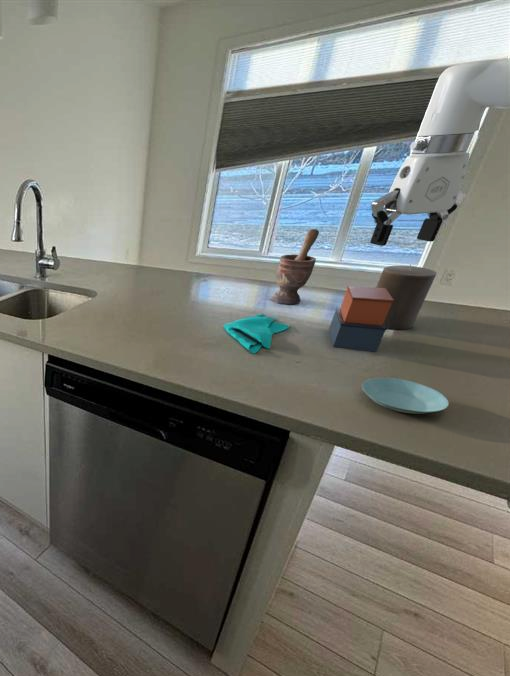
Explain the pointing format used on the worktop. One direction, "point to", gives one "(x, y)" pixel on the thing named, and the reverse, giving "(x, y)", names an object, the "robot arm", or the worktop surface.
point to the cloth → (255, 331)
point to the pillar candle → (405, 293)
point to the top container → (366, 305)
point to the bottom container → (355, 334)
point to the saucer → (404, 396)
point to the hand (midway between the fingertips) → (401, 242)
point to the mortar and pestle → (295, 271)
